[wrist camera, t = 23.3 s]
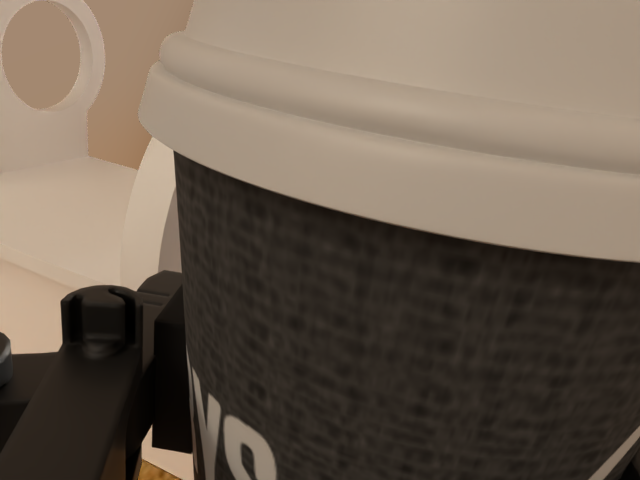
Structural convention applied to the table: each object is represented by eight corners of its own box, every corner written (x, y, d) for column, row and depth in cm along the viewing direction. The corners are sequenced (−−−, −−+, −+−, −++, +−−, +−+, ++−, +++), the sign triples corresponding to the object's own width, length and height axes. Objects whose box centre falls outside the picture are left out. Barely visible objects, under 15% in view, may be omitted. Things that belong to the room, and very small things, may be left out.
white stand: (-96, 395, 25) (-179, -52, 18) (116, 290, 36) (113, -11, 29) (152, 539, 20) (162, -5, 13) (310, 366, 31) (359, 22, 24)
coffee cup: (348, 453, 20) (432, 8, 14) (609, 698, 14) (948, 61, 8) (73, 602, 14) (35, -64, 8) (307, 1173, 7) (831, -89, 2)
